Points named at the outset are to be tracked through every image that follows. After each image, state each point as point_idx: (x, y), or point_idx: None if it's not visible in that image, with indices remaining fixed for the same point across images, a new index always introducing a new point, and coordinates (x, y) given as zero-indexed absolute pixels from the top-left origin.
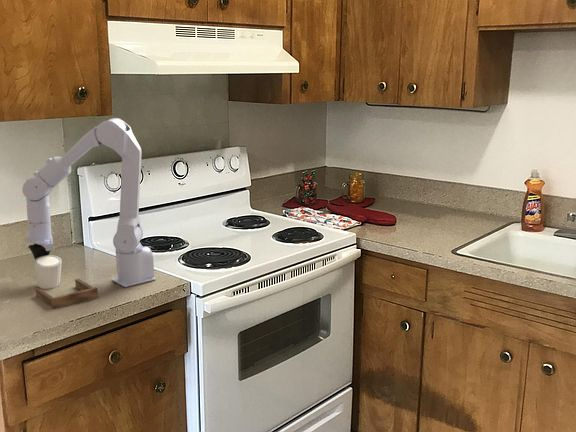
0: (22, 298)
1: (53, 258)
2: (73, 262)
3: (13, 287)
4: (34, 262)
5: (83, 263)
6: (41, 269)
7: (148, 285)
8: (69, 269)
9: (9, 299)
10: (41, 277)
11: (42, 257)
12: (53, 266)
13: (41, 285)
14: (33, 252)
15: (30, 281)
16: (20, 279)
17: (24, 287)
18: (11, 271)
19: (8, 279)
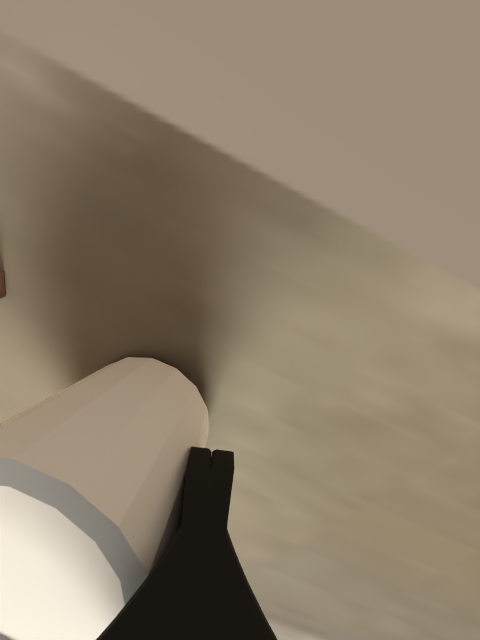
0: (19, 185)
1: (52, 631)
2: (386, 619)
3: (287, 255)
4: (58, 474)
5: (332, 636)
6: None
7: None
8: (309, 572)
9: (61, 107)
10: (52, 396)
11: (119, 590)
12: None
13: (107, 366)
14: (150, 620)
15: (304, 376)
16: (391, 355)
17: (229, 302)
18: None
19: (459, 308)
